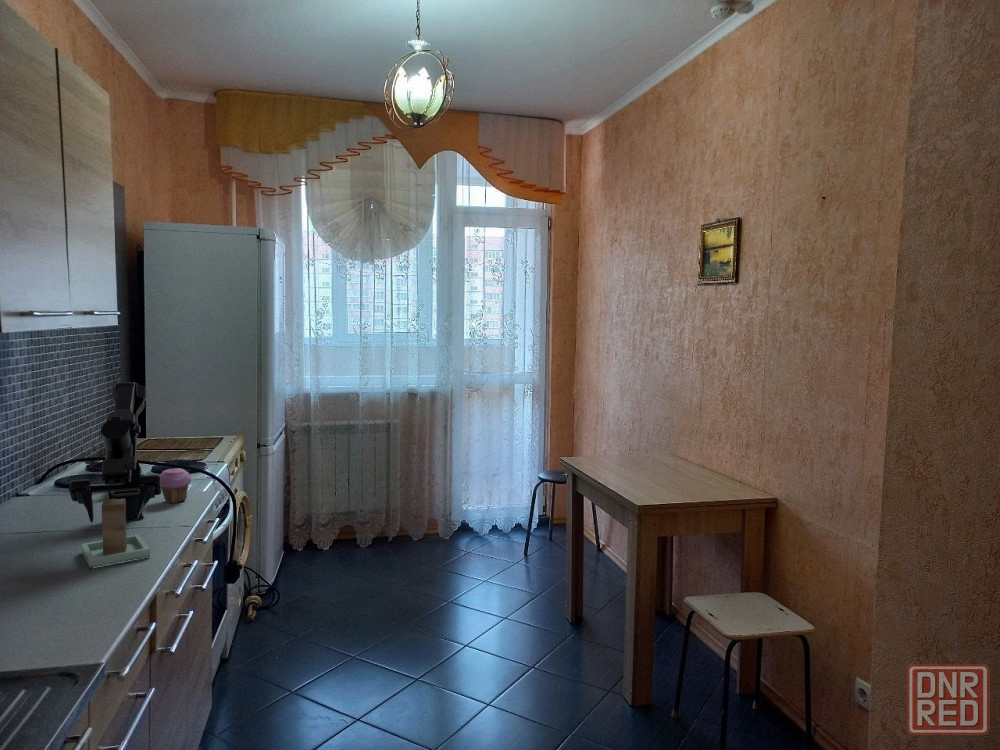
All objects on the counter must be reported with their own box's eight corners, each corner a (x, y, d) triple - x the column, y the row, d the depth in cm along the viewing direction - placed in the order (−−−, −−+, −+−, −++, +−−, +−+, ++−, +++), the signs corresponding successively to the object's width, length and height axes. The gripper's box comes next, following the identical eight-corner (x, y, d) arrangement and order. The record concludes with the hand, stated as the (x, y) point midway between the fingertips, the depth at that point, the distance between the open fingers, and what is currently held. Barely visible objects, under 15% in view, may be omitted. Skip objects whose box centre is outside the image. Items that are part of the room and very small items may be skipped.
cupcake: (171, 507, 192) (170, 473, 190) (151, 502, 195) (150, 469, 194) (197, 499, 199) (197, 467, 198) (178, 495, 203) (177, 463, 202)
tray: (139, 542, 163) (138, 534, 163) (149, 558, 154) (149, 548, 154) (81, 553, 155) (81, 544, 155) (89, 569, 146) (89, 560, 146)
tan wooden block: (105, 550, 155) (103, 500, 154) (126, 547, 157) (125, 498, 156) (103, 556, 152) (101, 505, 150) (125, 554, 153) (123, 503, 152)
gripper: (68, 446, 153) (61, 506, 144) (159, 441, 160) (157, 499, 152) (75, 471, 161) (69, 530, 152) (162, 466, 168) (160, 521, 160)
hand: (114, 519), depth 154 cm, fingers open, 9 cm apart
